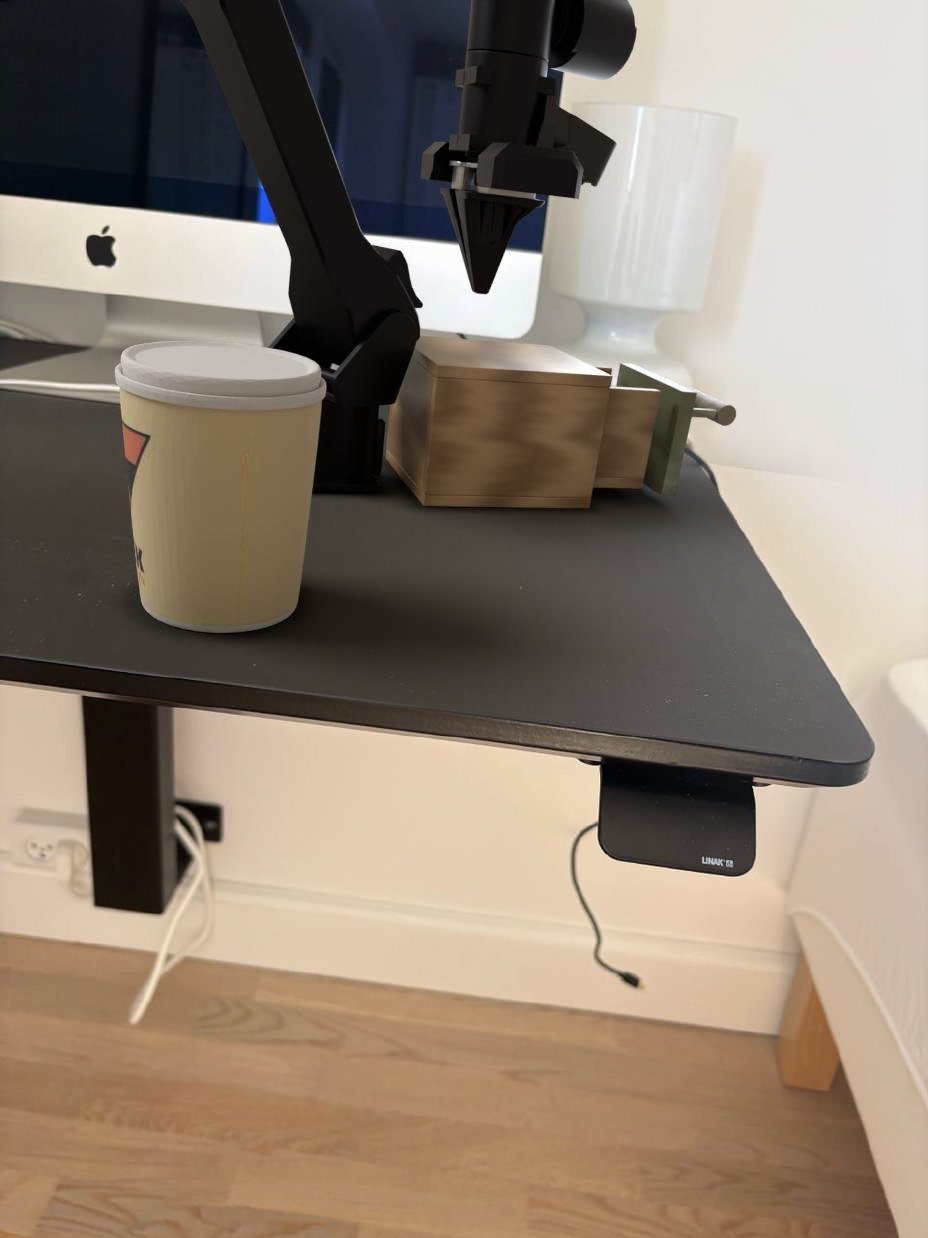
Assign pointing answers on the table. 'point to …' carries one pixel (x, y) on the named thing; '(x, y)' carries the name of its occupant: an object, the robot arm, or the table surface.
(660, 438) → the drawer
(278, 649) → the table surface
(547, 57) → the robot arm
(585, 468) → the cabinet
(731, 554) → the table surface
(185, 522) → the coffee cup
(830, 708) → the table surface
